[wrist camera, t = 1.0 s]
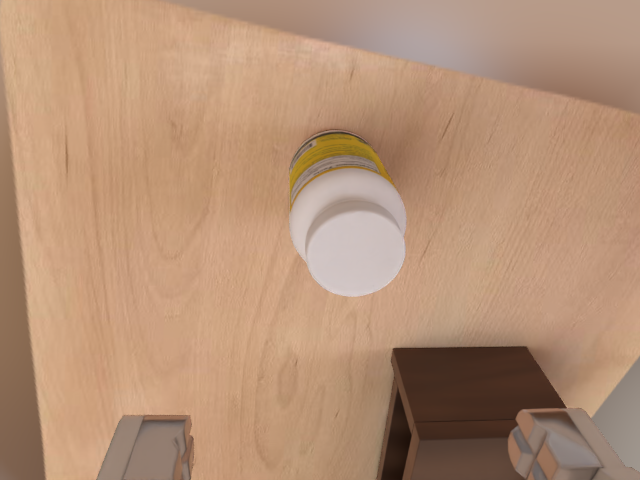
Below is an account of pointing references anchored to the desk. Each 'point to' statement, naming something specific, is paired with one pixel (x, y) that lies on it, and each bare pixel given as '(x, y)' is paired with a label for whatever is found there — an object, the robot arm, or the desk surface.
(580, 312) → the desk surface
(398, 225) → the pill bottle
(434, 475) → the shelf
